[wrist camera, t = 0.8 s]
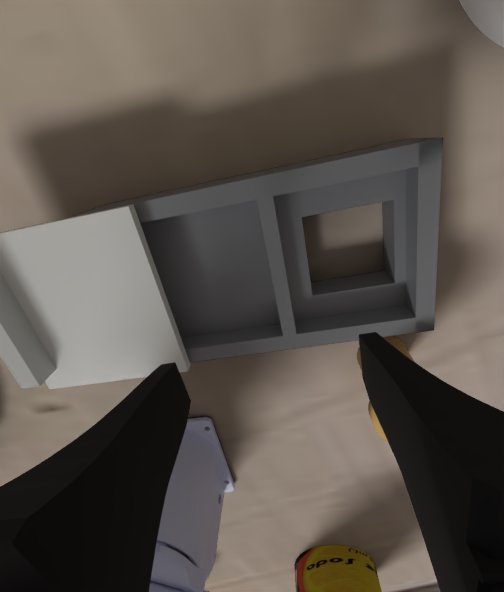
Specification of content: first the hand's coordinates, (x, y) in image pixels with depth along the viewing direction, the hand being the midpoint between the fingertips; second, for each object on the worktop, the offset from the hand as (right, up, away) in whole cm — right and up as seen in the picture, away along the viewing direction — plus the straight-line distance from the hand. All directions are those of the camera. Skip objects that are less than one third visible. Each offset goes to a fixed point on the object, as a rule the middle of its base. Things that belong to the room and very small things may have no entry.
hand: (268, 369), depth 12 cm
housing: (0, +6, +8) cm, 10 cm away
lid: (-10, +2, +6) cm, 12 cm away
